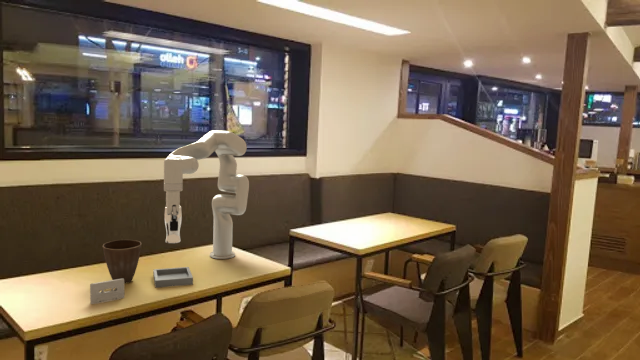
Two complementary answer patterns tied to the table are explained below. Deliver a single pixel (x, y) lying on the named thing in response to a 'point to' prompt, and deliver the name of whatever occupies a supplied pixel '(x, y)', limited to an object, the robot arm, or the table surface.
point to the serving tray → (172, 277)
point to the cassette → (108, 295)
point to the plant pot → (122, 258)
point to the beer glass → (171, 235)
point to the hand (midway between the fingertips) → (173, 228)
